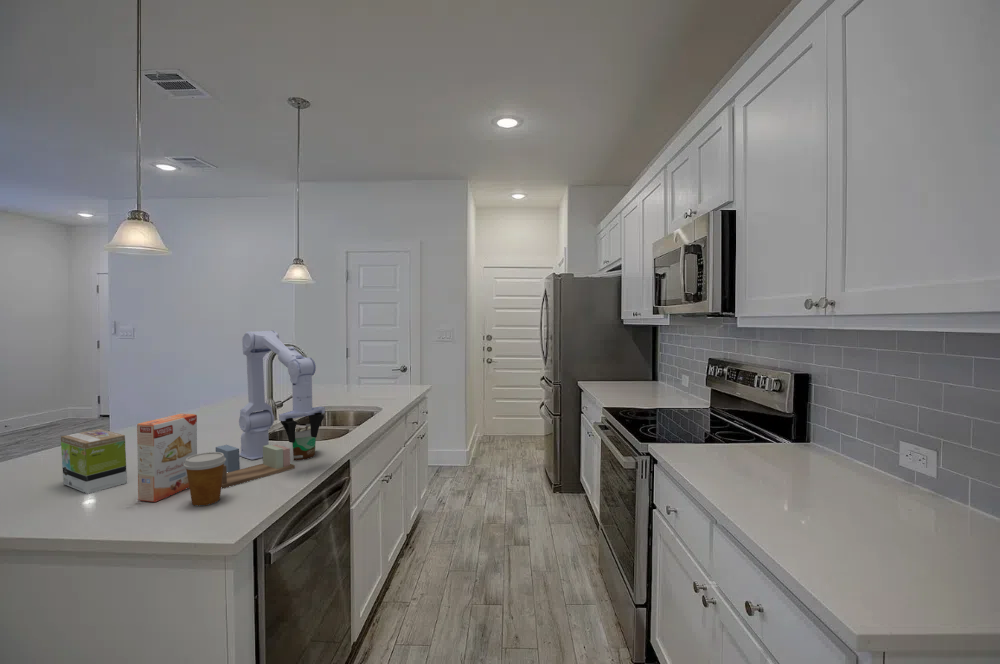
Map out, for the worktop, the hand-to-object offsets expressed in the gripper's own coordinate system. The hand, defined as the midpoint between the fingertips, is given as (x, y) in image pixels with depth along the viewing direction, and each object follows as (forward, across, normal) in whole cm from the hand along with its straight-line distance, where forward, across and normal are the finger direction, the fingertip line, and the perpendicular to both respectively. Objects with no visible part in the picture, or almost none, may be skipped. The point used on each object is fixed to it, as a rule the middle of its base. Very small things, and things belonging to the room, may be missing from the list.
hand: (303, 439), depth 151 cm
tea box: (+10, -42, +39) cm, 58 cm away
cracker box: (+10, -32, +14) cm, 36 cm away
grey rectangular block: (+10, -13, +22) cm, 27 cm away
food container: (+10, +10, +13) cm, 19 cm away
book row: (+9, -3, +10) cm, 14 cm away
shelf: (+10, -11, +10) cm, 18 cm away
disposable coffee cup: (+10, -29, -1) cm, 31 cm away
